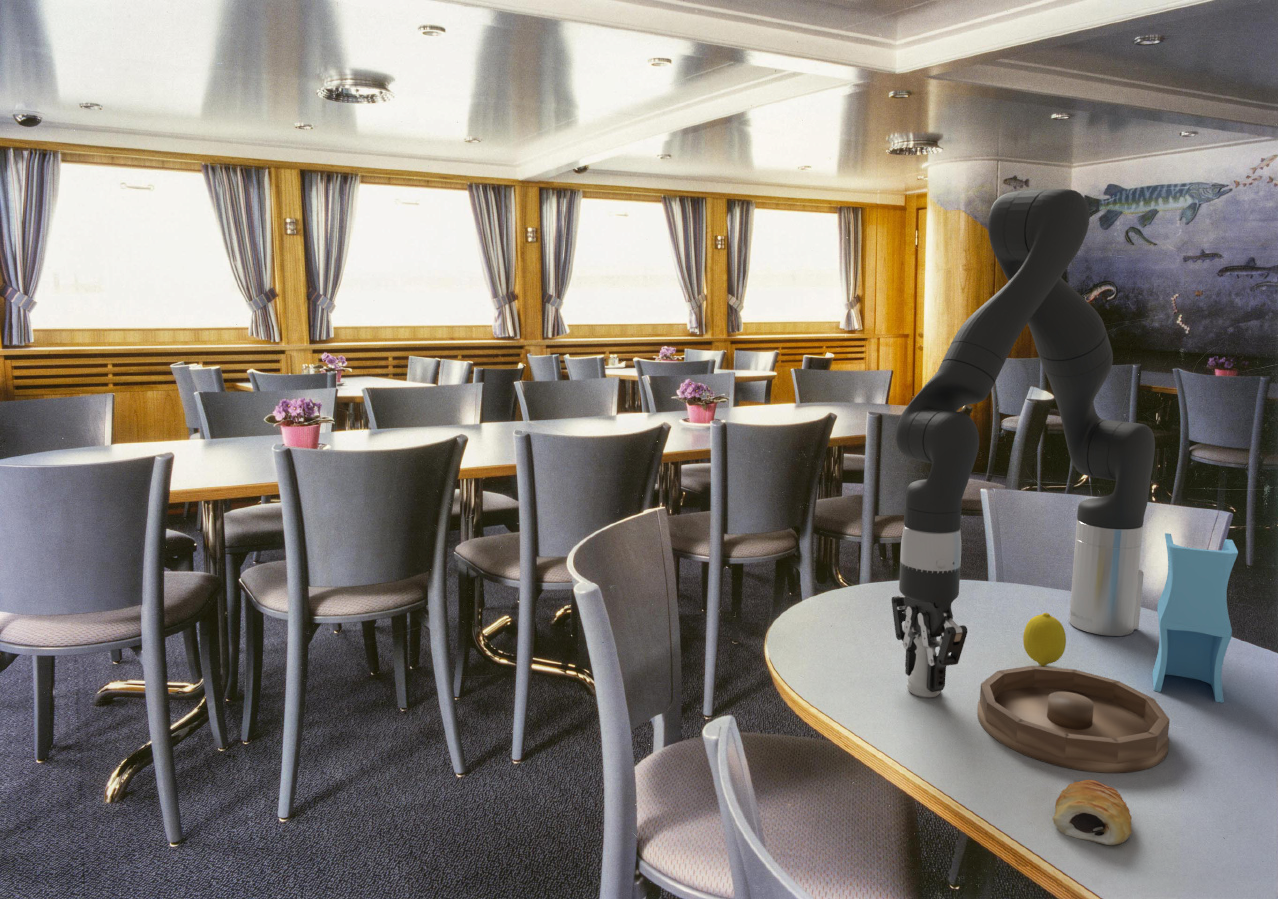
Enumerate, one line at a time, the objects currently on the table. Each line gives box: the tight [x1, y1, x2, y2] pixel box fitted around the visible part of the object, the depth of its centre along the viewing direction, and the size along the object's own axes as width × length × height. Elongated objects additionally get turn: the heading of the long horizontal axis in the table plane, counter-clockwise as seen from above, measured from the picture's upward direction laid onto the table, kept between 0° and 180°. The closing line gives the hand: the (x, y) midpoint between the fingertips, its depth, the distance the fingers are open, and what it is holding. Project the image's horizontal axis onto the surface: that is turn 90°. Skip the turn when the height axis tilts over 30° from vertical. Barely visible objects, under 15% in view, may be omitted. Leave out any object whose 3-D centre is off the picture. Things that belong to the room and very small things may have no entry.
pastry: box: [1052, 779, 1133, 846], centre depth 88 cm, size 9×7×4 cm
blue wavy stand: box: [1151, 532, 1239, 704], centre depth 116 cm, size 8×8×20 cm
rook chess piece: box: [906, 632, 942, 699], centre depth 116 cm, size 4×4×8 cm
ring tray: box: [977, 665, 1171, 774], centre depth 106 cm, size 21×21×4 cm
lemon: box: [1022, 612, 1067, 667], centre depth 124 cm, size 6×6×8 cm
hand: (924, 681), depth 117 cm, fingers closed on rook chess piece, 4 cm apart
